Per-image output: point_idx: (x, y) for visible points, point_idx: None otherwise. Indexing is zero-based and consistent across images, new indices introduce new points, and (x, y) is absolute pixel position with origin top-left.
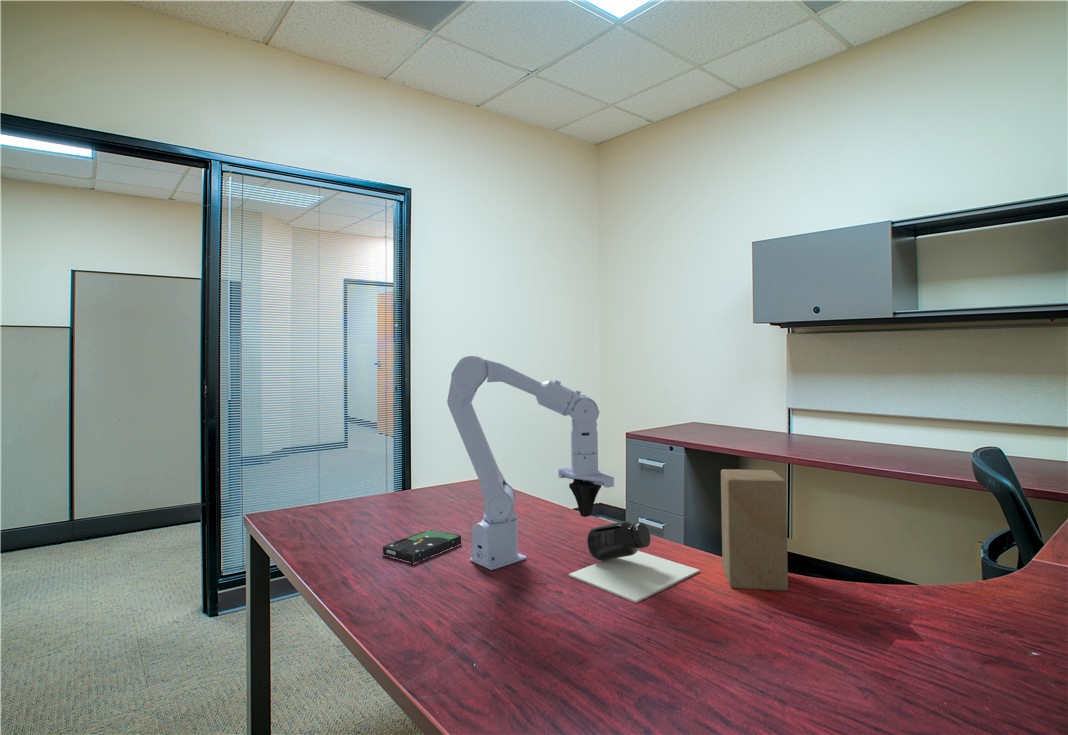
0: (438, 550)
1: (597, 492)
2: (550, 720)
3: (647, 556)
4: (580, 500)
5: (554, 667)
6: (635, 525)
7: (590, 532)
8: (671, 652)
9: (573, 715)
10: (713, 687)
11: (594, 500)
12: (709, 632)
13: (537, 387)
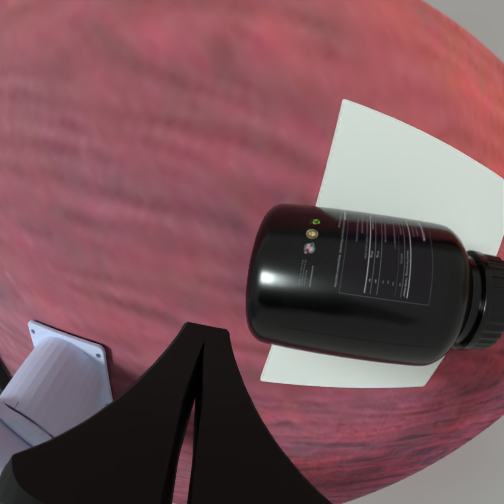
0: (3, 378)
1: (293, 472)
2: (372, 491)
3: (411, 148)
4: (178, 459)
5: (357, 480)
6: (485, 338)
7: (265, 340)
8: (453, 422)
9: (384, 485)
10: (473, 426)
11: (253, 409)
12: (493, 375)
13: None
